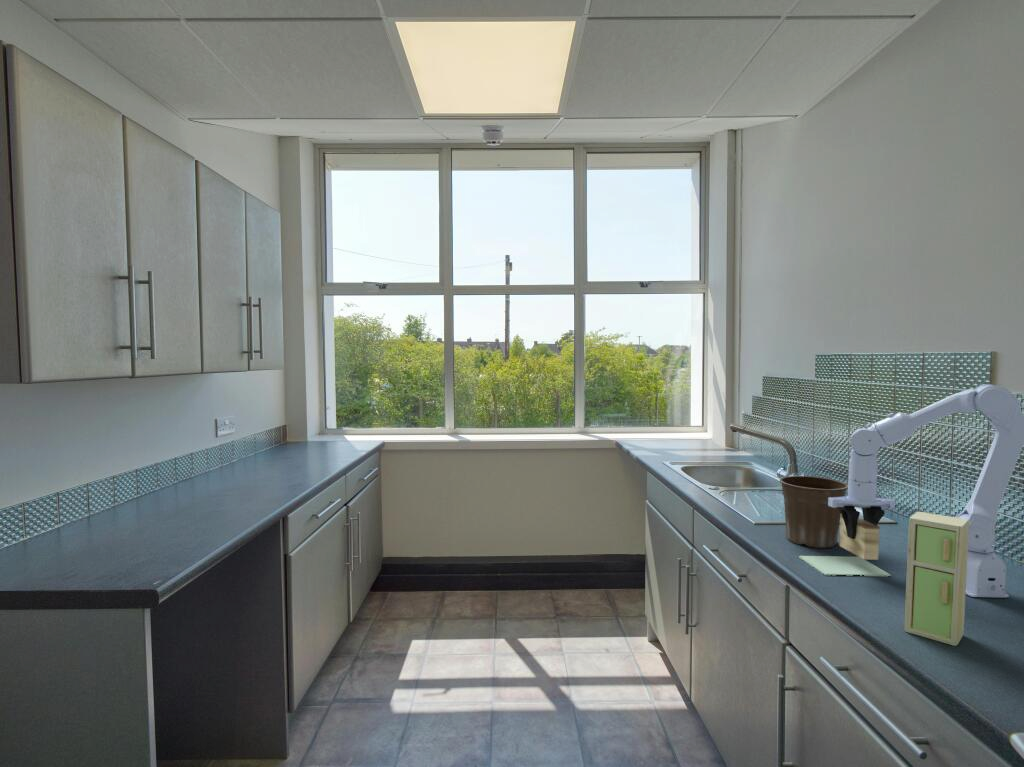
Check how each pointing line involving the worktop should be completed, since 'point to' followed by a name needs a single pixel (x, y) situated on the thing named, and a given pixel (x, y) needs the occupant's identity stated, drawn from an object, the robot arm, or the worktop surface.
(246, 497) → the worktop surface
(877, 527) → the oak slab
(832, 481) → the plant pot
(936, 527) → the toy refrigerator
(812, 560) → the rubber mat
